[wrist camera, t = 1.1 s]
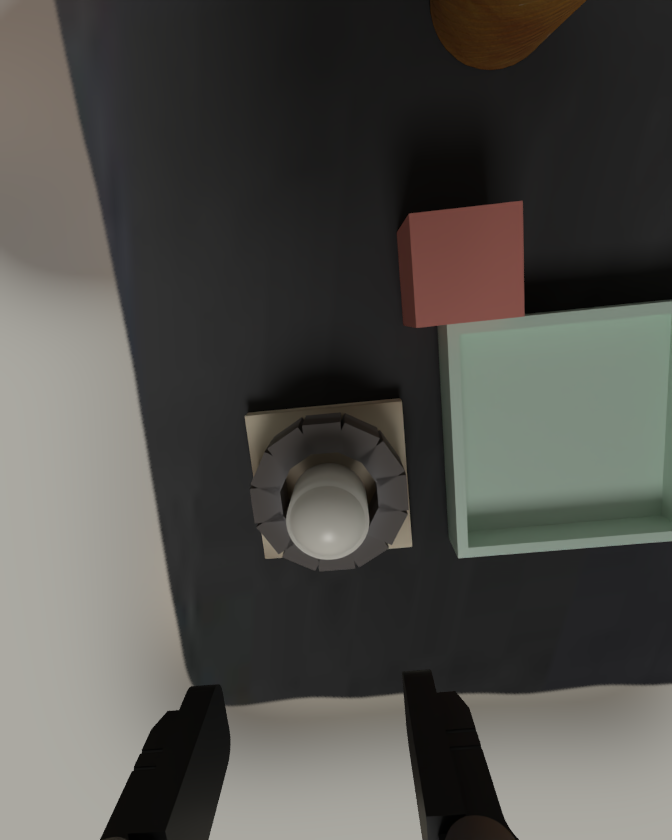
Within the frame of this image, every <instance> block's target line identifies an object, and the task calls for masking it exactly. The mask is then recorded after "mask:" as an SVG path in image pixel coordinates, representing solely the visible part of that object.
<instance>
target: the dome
mask: <svg viewBox="0 0 672 840" xmlns="http://www.w3.org/2000/svg"><path fill="white" fill-rule="evenodd" d="M286 526H287V531H288V533H289V536H290V538H291V540H292V541H293V543H294V544H295V545H296V546H297V547H298V548H299V549H300V550H301V551H302V552H304V553H306V554H307V555H309V556H312V557H314V558H318V559H324V560H333V559H338V558H342V557H345V556H347V555H349V554H351V553H352V552H354V551H355V550H356V549H357V548H358V547H359V546H360V545H361V544H362V543H363V541H364V539H365V538H366V535H367V533H368V529H369V513H368V504H367V496H366V490H365V487H364V484H363V482H362V481H361V479H360V478H359V476H358V475H357V474H356V473H355V472H354V471H352V470H351V469H349V468H348V467H346V466H343V465H340V464H336V463H323V464H318V465H315V466H313V467H311V468H309V469H308V470H306V471H305V472H304V473H303V474H302V475H301V476H300V477H299V479H298V480H297V482H296V484H295V487H294V490H293V493H292V497H291V500H290V504H289V507H288V511H287V515H286Z"/></svg>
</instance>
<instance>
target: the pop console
mask: <svg viewBox="0 0 672 840" xmlns="http://www.w3.org/2000/svg"><path fill="white" fill-rule="evenodd" d="M245 422H246V429H247V436H248V443H249V449H250V456H251V463H252V470H253V480H252V482H251V484H250V485H252V486H251V488H250V494H251V500H252V507H253V514H254V521H255V523H258V525H257V528H258V530H259V531H260V532H261V533H262V539H263V546H264V553H265V559H270V558H282V557H283V558H286V559H288V560H290V561H293V562H295V563H298V564H300V565H302V566H305V567H307V568H310V569H312V570H314V571H315V570H316V568H317V566H318V564H319V571H331V570H344V569H355V562H356V564H357V565H358V566H359V567H360V566H362V565H363V564H365V563H367V562H368V561H370V560H371V559H373V558H374V557H376V556H378V555H379V554H381V553H382V552H384V551H385V550H387V549H391V548H403V547H412V537H411V523H410V509H409V495H408V481H407V467H406V453H405V439H404V425H403V411H402V401H401V399H400V398H397V399H387V400H376V401H366V402H355V403H344V404H334V405H323V406H313V407H302V408H292V409H281V410H271V411H260V412H250V413H247V414H246V415H245ZM323 463H336V464H340V465H343V466H346V467H348V468H349V469H351V470H352V471H354V472H355V473H356V474H357V475H358V476H359V478H360V479H361V481H362V482H363V484H364V487H365V490H366V496H367V504H368V513H369V529H368V533H367V535H366V538H365V539H364V541H363V543H362V544H361V545H360V546H359V547H358V548H357V549H356V550H355V551H354V552H352V553H351V554H349V555H347V556H345V557H342V558H338V559H333V560H324V559H318V558H314V557H312V556H309V555H307V554H306V553H304V552H302V551H301V550H300V549H299V548H298V547H297V546H296V545H295V544H294V543H293V541H292V540H291V538H290V536H289V533H288V531H287V526H286V515H287V511H288V507H289V504H290V500H291V497H292V493H293V490H294V487H295V484H296V482H297V480H298V479H299V477H300V476H301V475H302V474H303V473H304V472H305V471H306V470H308V469H309V468H311V467H313V466H315V465H318V464H323Z"/></svg>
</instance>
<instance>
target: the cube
mask: <svg viewBox="0 0 672 840" xmlns="http://www.w3.org/2000/svg"><path fill="white" fill-rule="evenodd" d="M397 243H398V257H399V271H400V285H401V299H402V313H403V325H404V326H409V327H415V328H419V327H429V326H439V325H448V324H458V323H468V322H477V321H487V320H496V319H506V318H516V317H525V309H524V250H523V201H516V202H507V203H498V204H490V205H481V206H472V207H463V208H454V209H445V210H436V211H428V212H419V213H410V214H408V216H407V217H406V219H405V220H404V222H403V223H402V225H401V227H400V228H399V230H398V231H397Z"/></svg>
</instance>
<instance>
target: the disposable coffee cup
mask: <svg viewBox="0 0 672 840" xmlns="http://www.w3.org/2000/svg"><path fill="white" fill-rule="evenodd" d="M585 1H586V0H430V10H431V16H432V21H433V25H434V28H435V30H436V33H437V35H438V37H439V39H440V41H441V42H442V44H443V45H444V47H445V48H446V50H447V51H449V52H450V53H451V54H452V55H453V56H454V57H455V58H456V59H457V60H459V61H460V62H462V63H464V64H465V65H468V66H471V67H474V68H478V69H485V70H495V69H503V68H505V67H508V66H511V65H514V64H516V63H518V62H519V61H521V60H523V59H524V58H526V57H527V56H528V55H529V54H530V53H532V52H533V51H534V50H535V49H536V48H537V47H538V46H539V45H540V44H541V43H542V42H543V41H544V40H545V39H546V38H547V37H548V36H549V35H550V34H551V33H552V32H553V31H554V30H555V29H557V28H558V27H559V26H560V25H561V24H562V23H563V22H564V21H565V20H566V19H567V18H568V17H569V16H570V15H571V14H572V13H573V12H574V11H575V10H577V9H578V8H579V7H580V6H581V5H582V4H583V3H584V2H585Z"/></svg>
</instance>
